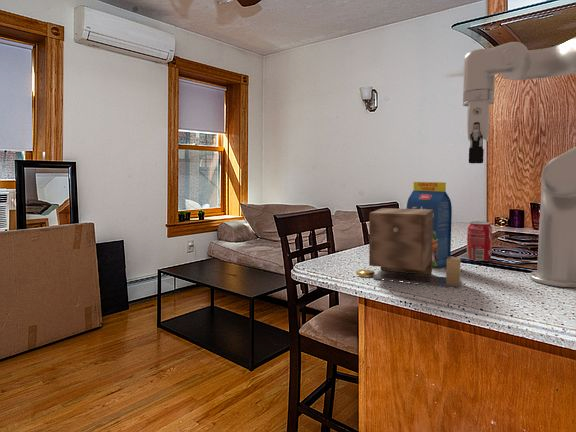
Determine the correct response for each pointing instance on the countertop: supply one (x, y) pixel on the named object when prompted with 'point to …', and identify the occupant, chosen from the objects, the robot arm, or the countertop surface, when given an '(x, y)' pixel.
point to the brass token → (365, 272)
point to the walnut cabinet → (401, 240)
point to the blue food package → (435, 217)
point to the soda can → (479, 241)
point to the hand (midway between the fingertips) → (476, 163)
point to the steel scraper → (448, 281)
